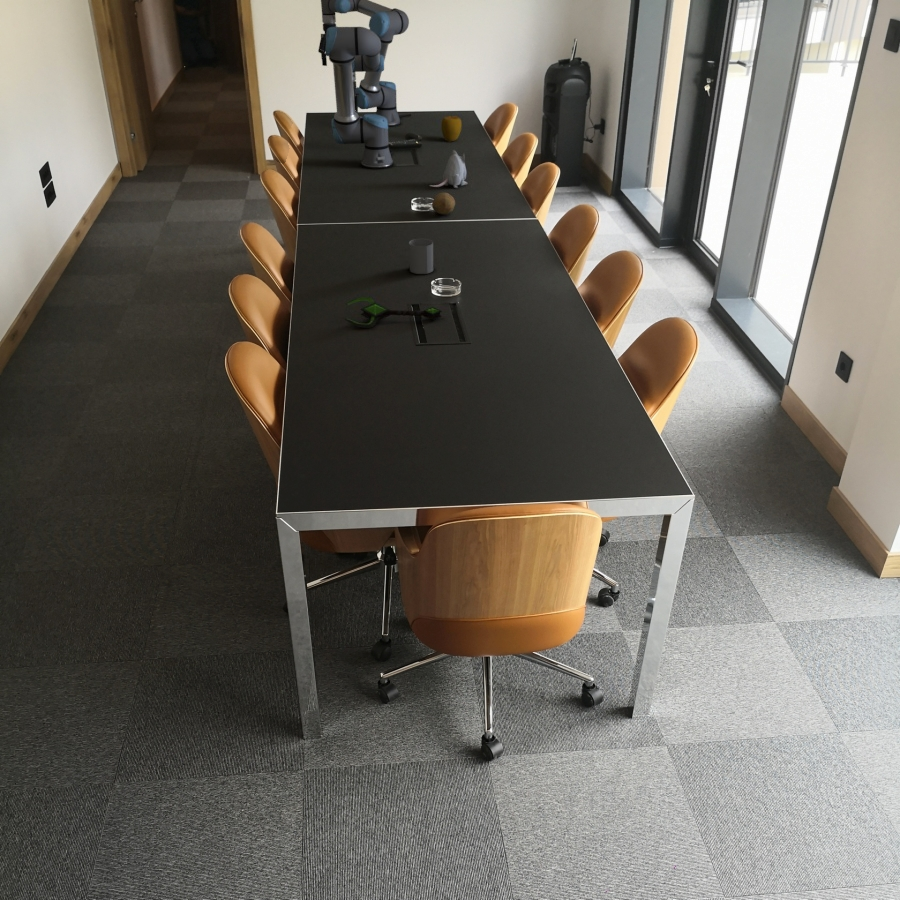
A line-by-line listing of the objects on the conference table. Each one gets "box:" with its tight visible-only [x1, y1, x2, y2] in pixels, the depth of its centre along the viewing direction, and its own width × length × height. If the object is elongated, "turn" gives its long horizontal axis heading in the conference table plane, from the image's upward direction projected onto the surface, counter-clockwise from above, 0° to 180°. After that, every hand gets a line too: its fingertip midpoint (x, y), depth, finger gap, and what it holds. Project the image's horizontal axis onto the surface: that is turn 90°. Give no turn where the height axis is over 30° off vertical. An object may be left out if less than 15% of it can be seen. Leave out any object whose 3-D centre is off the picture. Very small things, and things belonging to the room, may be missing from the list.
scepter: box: [344, 296, 443, 329], centre depth 270 cm, size 6×13×30 cm
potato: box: [431, 192, 456, 216], centre depth 360 cm, size 10×14×8 cm
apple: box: [441, 115, 462, 142], centre depth 467 cm, size 11×11×13 cm
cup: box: [408, 237, 434, 275], centre depth 305 cm, size 8×8×10 cm
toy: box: [428, 149, 468, 189], centre depth 390 cm, size 9×24×15 cm, turn 137°
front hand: (351, 129), depth 452 cm, fingers closed on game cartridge, 2 cm apart
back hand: (332, 64), depth 500 cm, fingers open, 13 cm apart
